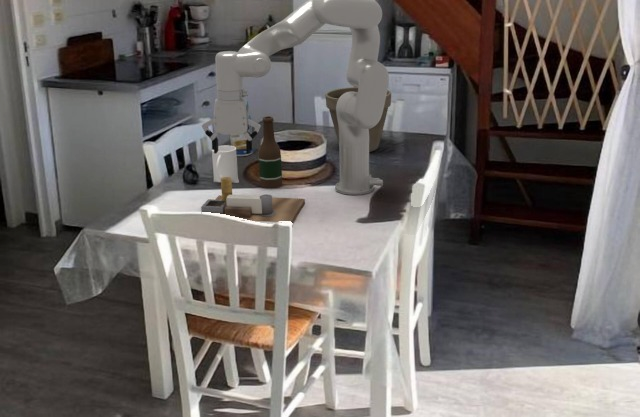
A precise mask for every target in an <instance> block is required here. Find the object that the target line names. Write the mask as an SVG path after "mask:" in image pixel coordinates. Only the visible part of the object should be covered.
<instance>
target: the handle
mask: <svg viewBox="0 0 640 417" xmlns="http://www.w3.org/2000/svg"><path fill="white" fill-rule="evenodd" d="M272 197H273V195H271V194H261V195H256V194H255V195H253V194H251V195H250V194H249V195H247V194H232V195H228V196H227V198H226V202H227V206H234V207H251V209H252V213H256V214H271V213H272V212H273V207H272Z"/></svg>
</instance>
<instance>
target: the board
mask: <svg viewBox="0 0 640 417" xmlns="http://www.w3.org/2000/svg"><path fill="white" fill-rule="evenodd" d="M214 200H222V194H221V195H220V194H218V196H217V197H216V198H215V199H214ZM305 203H306V199H305V198H295V197H294V198H293V197H273V196H272V207H273V212H272V213H271V214H256V213H252V209H251V207H234V206H226V207H225V214H226V215H230V216H235V217H239V218H243V219H247V220H252V221H251V222H271V223H274V222H275V223H279V222H278V221H291V222H292V223H293V224H294V223H295V222H296V220H297V218H298V216H299V214H300V213H301V211H302V209H303V208H304V206H305Z"/></svg>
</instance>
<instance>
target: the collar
mask: <svg viewBox="0 0 640 417" xmlns="http://www.w3.org/2000/svg"><path fill="white" fill-rule="evenodd" d="M226 206H227V202H226V200H215V199H207V200H206V201H205V202H204V203H203V204H202V206H201V207H200V210H201V213H202V212H211V213H220V214H225V207H226Z"/></svg>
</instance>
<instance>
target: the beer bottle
mask: <svg viewBox="0 0 640 417" xmlns="http://www.w3.org/2000/svg"><path fill="white" fill-rule="evenodd" d="M262 122H263V124H262V125H263V131H262V132H263V135H262V136H263V137H262V138H263V139H262V141H261V144H260V146H259V148H258V168H259V186H260V188H263V189H266V190H267V189H278V188H280V187H283V170H282V168H283V167H282V153H281V152H282V151H281V148H280V145H279V144H278V143H277V141H276V139H275V130H274V117H273V116H268V115H267V116H264V117H262Z"/></svg>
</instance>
